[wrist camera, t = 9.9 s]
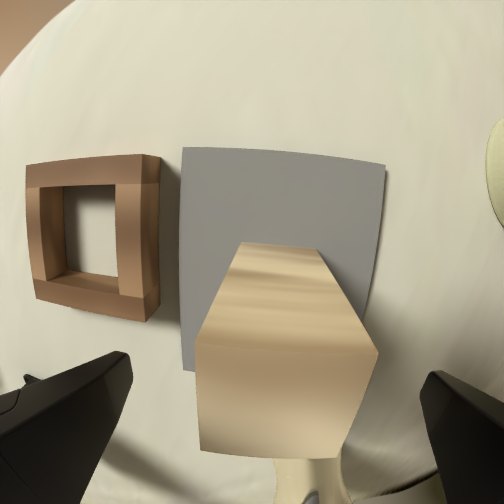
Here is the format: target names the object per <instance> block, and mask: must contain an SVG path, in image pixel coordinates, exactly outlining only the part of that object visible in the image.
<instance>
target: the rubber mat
mask: <svg viewBox="0 0 504 504" xmlns="http://www.w3.org/2000/svg"><path fill="white" fill-rule="evenodd" d="M385 167H386V165H383V164H378V163H372V162H366V161H360V160H353V159H346V158H339V157H332V156H324V155H316V154H306V153H297V152H286V151H274V150H259V149H241V148H212V147H183V152H182V168H181V187H180V216H179V296H180V324H181V343H182V359H183V370H186V371H192V372H195V345H194V342H195V340H196V338H197V335H198V333H199V331H200V329H201V327H202V325H203V322H204V320H205V318H206V316H207V314H208V312H209V310H210V307H211V305H212V303H213V301H214V299H215V297H216V295H217V292H218V290H219V288H220V286H221V284H222V282H223V280H224V278H225V275H226V273H227V271H228V269H229V267H230V265H231V263H232V261H233V258H234V256H235V254H236V252H237V250H238V248H239V246H240V244H241V242H247V243H259V244H271V245H282V246H294V247H305V248H316V250H317V251H318V253H319V254H320V256H321V258H322V259H323V261H324V262H325V264H326V265H327V267H328V269H329V270H330V272H331V273H332V275H333V277H334V278H335V280H336V281H337V283H338V285H339V286H340V288H341V290H342V291H343V293H344V294H345V296H346V298H347V299H348V301H349V303H350V304H351V306H352V308H353V309H354V311H355V313H356V314H357V316H358V318H359V320H360V321H361V323H362V319H363V315H364V311H365V306H366V302H367V297H368V292H369V287H370V282H371V277H372V272H373V266H374V260H375V254H376V248H377V241H378V234H379V227H380V219H381V211H382V202H383V192H384V180H385Z"/></svg>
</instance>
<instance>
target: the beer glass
mask: <svg viewBox="0 0 504 504" xmlns="http://www.w3.org/2000/svg"><path fill="white" fill-rule="evenodd" d="M341 456H342V447H341V449H340V451H339V453H338V455H337V457H336V458H319V459H281V458H273V463H274V467H275V472H276V482H277V484H276V493H275V497H274V502H273V504H353V502H352V500H351V498H350V496H349V493H348V491H347V488H346V486H345V483H344V480H343V476H342V470H341Z"/></svg>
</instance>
